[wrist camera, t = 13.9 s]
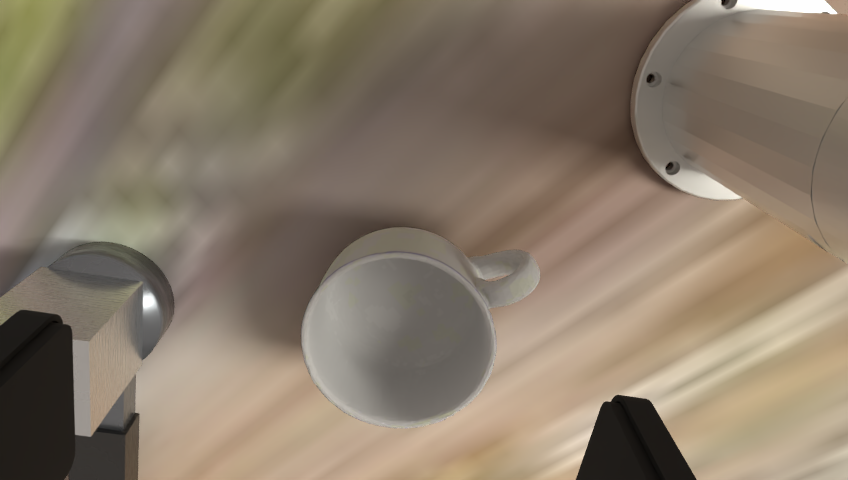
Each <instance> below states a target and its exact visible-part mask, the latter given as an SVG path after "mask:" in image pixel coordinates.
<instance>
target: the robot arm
mask: <svg viewBox="0 0 848 480" xmlns="http://www.w3.org/2000/svg"><path fill="white" fill-rule="evenodd" d="M649 74H652V79H651V81H649V82H646V78H647V76H648V75H649ZM630 106H631V124H632V128H633V132H634V137H635V140H636V143H637V145H638V147H639V149H640V151H641V153H642V155H643V157H644V158H645V160H646V161H647V162H648V164H649V165H650V166H651V168H652V169H653V170H654V171H655V172H656V173H657V174H658V175H659V176H661V177H662V178H663V179H664V180H665V181H667V182H668V183H670V184H671V185H673V186H674V187H676V188H677V189H679V190H680V191H683V192H685V193H688V194H690V195H693V196H695V197H699V198H704V199H710V200H716V201H718V200H739V199H745V200H746V201H748V202H750V203H751V204H753V205H754V206H756V207H758V208H759V209H761V210H762V211H764V212H765V213H767V214H769V215H770V216H772V217H773V218H775V219H777V220H778V221H780V222H781V223H783V224H784V225H786V226H788V227H789V228H791V229H792V230H794V231H796V232H797V233H799V234H800V235H802V236H803V237H805V238H807V239H808V240H810V241H811V242H813V243H814V244H816V245H818V246H819V247H821V248H822V249H824V250H825V251H827V252H829V253H830V254H832V255H834V256H835V257H837V258H839V259H840V260H842V261H844V262H845V263H847V264H848V15H844V14H838V13H837V11H836V10H835V9H834V8H833V7H832V6H831V5H830V4H829V3H828V2H827V1H826V0H726V1H725V3H724V4H723V5H721V0H692V1H690V2H688V3H687V4H685V5H684V6H683V7H682V8H680V9H679V10H678V11H677V12H676V13H675V14H674V15H673V16H672V17H671V18H669V19H668V20H667V21H666V22H665V24H664V25H663V26H662V27H661V29H660V30H659V31H658V32H657V34H656V35H655V36H654V38H653V39H652V40H651V42H650V44H649V46H648V48H647V49H646V51H645V53H644V55H643V57H642V58H641V61H640V64H639V66H638V69H637V72H636V75H635V78H634V81H633V88H632V94H631V100H630ZM669 162H671V165H670V166H669V167H668V168H666V165H667V164H668V163H669ZM74 457H75V414H74V376H73V337H72V329H71V326H69V325H67V324H63V320H62V318H61V316H59V315H58V314H52V313H45V312H38V311H31V310H20V311H18V312H16V313H15V314H14V315H12V316H11V317H10V318H9V319H8V320H6V321H5V322H4V323H3V324H2V325H0V480H64V479H65V478H66V476H67V475H68V473H69V471H70V469H71V467H72V464H73V461H74ZM576 480H696V478H695V476H694V474H693V473H692V471H691V469H690V468H689V466H688V464H687V462H686V461H685V459H684V457H683V456H682V454H681V452H680V450H679V449H678V447H677V445H676V444H675V442H674V440H673V439H672V437H671V435H670V433H669V432H668V430H667V428H666V427H665V425H664V423H663V421H662V420H661V418H660V416H659V415H658V413H657V411H656V409H655V408H654V406H653V404H652V403H651V402H650V401H649V400H647V399H643V398H636V397H629V396H622V395H616V396H615V397H614V398H613V399H612V401H611V402H607V401H606V402H604V403H603V404H602V406H601V408H600V411H599V414H598V417H597V420H596V423H595V426H594V429H593V432H592V435H591V437H590V440H589V443H588V446H587V449H586V452H585V455H584V458H583V461H582V464H581V467H580V469H579V472H578V475H577V478H576Z"/></svg>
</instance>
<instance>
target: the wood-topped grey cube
mask: <svg viewBox="0 0 848 480" xmlns="http://www.w3.org/2000/svg"><path fill="white" fill-rule="evenodd" d="M20 310H31V311H38V312H45V313H52V314H58V315H59V316H61V318H62V320H63V324H67V325H69V326H71V329H72V337H73V376H74V414H75V435H80V436H88V437H91V436H92V435H93V433H94V432H95V430H96V429H97V427H98V426H99V425H100V423H101V422H102V420H103V419H104V418H105V416H106V415H107V413H108V412H109V411H110V409H111V408H112V406H113V405H114V404H115V402H116V401H117V399H118V398H119V397H120V395H121V394H122V392H123V391H124V389H125V388H126V387H127V385H128V384H129V382H130V381H131V380H132V378H133V377H134V375H135V374H136V373H137V371H138V370H139V368H140V367H141V366H142V334H143V282H142V281H135V280H128V279H121V278H114V277H108V276H101V275H94V274H87V273H80V272H74V271H67V270H60V269H53V268H46V267H40V268H39V269H38V270H36V271H35V272H34V273H32V274H31V275H30V276H28V277H27V278H26V279H24V280H23V281H22V282H20V283H19V284H18V285H16V286H15V287H14V288H13V289H11V290H10V291H9V292H7V293H6V294H5V295H3V296H2V297H1V298H0V325H2V324H3V323H4V322H5V321H6V320H8V319H9V318H10V317H11V316H12V315H14V314H15V313H16V312H18V311H20Z"/></svg>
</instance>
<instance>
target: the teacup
mask: <svg viewBox="0 0 848 480" xmlns="http://www.w3.org/2000/svg"><path fill="white" fill-rule="evenodd" d="M509 274H510V275H509ZM504 275H509V276H506V277H504V278H502V279H499V280H497V281H492V282H488V281H485V280H487V279H491V278H495V277H500V276H504ZM539 280H540V269H539V267H538V264H537V263H536V261H535V259H534V258H533V257H532V256H531V255H530V254H529V253H528V252H525V251H522V250H506V251H501V252H496V253H492V254H488V255H484V256H472V257H469V258H468V257H466V256H465V254H464V253H463V252H462V251H460V250H459V249H458V248H457V247H456V246H455V245H454V244H452V243H451V242H449V241H448V240H446V239H445V238H443V237H441V236H439V235H437V234H434V233H432V232H429V231H426V230H422V229H417V228H410V227H393V228H387V229H382V230H378V231H375V232H372V233H369V234H367V235H365V236H363V237H361V238H359V239H357V240H356V241H354V242H353V243H351V244H350V245H349V246H348V247H346V248H345V249H344V250H343V251H342V252H341V253H340V254H339V255H338V256H337V258H336V259H335V260H334V261H333V263H332V264H331V266H330V267H329V269H328V270H327V272H326V274H325V275H324V277H323V279H322V281H321V283H320V285H319V287H318V288H317V290H316V291H315V293H314V294H313V296H312V297H311V299H310V301H309V303H308V306H307V308H306V311H305V313H304V317H303V321H302V325H301V348H302V352H303V356H304V361H305V364H306V367H307V369H308V372H309V374H310V376H311V378H312V380H313V382H314V384H316V386H317V387H318V388H319V390H320V391H321V393H322V394H323V395H324V396H325V397H326V398H327V399H328V400H329V401H330V402H331V403H332V404H334V405H335V406H336V407H338V408H339V409H340V410H342V411H343V412H344V413H346V414H348V415H350V416H352V417H354V418H356V419H358V420H360V421H364V422H366V423H369V424H374V425H377V426H383V427H389V428H417V427H422V426H426V425H430V424H434V423H437V422H440V421H442V420H445V419H446V418H448V417H450V416H453V415H454V414H455V413H456V412H458V411H460V410H461V409H462V408H464V407H466V406H467V405H468V404H469V403H470V402H471V401H472V400H473V399H474V398H475V397H476V396H477V395H478V394H479V393H480V392H481V390H482V389H483V387H484V385H485V383H486V382H487V380H488V378H489V376H490V374H491V371H492V369H493V366H494V360H495V357H496V332H495V328H494V323H493V319H492V316H491V313H490V311H489V309H490V308H494V307H502V306H506V305H510V304H513V303H515V302H517V301H520V300H521V299H523V298H525V297H526V296H528V295H529V294H530V293H531V292H532V291H533V290H534V289H535V288H536V286H537V284H538V283H539Z"/></svg>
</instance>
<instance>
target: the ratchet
mask: <svg viewBox="0 0 848 480" xmlns="http://www.w3.org/2000/svg"><path fill="white" fill-rule="evenodd" d="M48 268H53V269H60V270H67V271H74V272H80V273H87V274H94V275H101V276H108V277H114V278H121V279H128V280H135V281H142V282H143V334H142V360H143V359H144V358H146V357H147V356H148V355H149V354H150V353H151V351H152V350H153V349H154V347H155V346H156V344H157V343H158V342H159V340H160V339H161V337H162V336H163V335H164V333H165V332H166V330H167V329H168V327H169V325H170V323H171V321H172V318H173V314H174V297H173V292H172V289H171V286H170V284H169V282H168V280H167V278H166V277H165V275H164V274H163V272H162V271H161V270H160V269H159V268H158V266H157V265H156V264H155V263H153V262H152V261H151V260H150V259H149V258H147V257H146V256H145V255H143V254H141V253H140V252H138V251H136V250H134V249H132V248H130V247H127V246H124V245H120V244H116V243H109V242H94V243H87V244H84V245H80V246H78V247H76V248H73V249H72V250H70V251H69V252H67V253H66V254H64V255H63V256H62V257H61V258H59V259H58V260H57V261H55V262H54V263H53V264H52V265H50V266H49V267H48ZM135 390H136V374H135V375H134V377H133V378H132V380H131V381H130V382H129V384H128V385H127V387H126V388H125V389H124V391H123V392H122V394H121V395H120V397H119V398H118V399H117V401H116V402H115V404H114V405H113V406H112V408H111V409H110V411H109V412H108V413H107V415H106V416H105V418H104V419H103V420H102V422H101V423H100V425H99V426H98V427H97V429H96V430H95V432H94V433H93V435H92V436H91V437H88V436H80V435H75V457H74V461H73V464H72V467H71V469H70V471H69V480H138V448H139V413H135Z"/></svg>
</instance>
